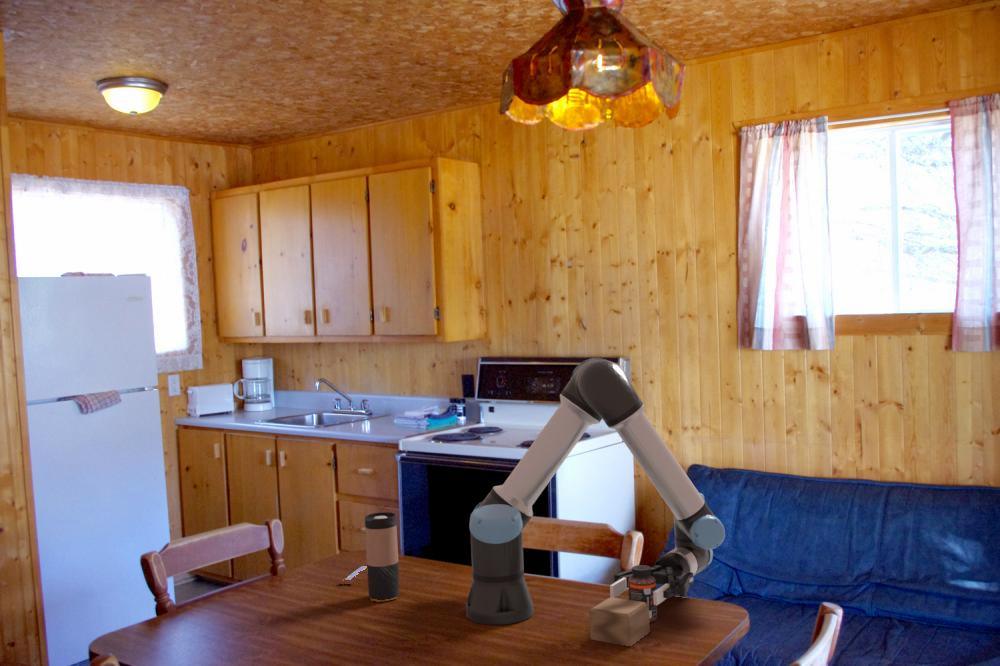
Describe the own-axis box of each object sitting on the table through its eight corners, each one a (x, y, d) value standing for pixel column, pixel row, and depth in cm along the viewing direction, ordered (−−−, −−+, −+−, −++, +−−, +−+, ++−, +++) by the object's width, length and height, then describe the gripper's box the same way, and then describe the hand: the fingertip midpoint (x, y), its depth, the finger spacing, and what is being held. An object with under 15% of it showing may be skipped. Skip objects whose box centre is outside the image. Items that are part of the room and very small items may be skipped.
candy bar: (352, 588, 223) (351, 580, 223) (337, 587, 224) (336, 580, 224) (378, 569, 239) (377, 562, 239) (363, 569, 240) (363, 562, 240)
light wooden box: (590, 639, 178) (589, 608, 178) (610, 625, 186) (609, 595, 186) (630, 646, 173) (629, 615, 173) (649, 632, 181) (648, 602, 181)
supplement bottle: (657, 624, 185) (654, 571, 185) (628, 624, 186) (626, 571, 186) (657, 615, 191) (655, 563, 191) (630, 614, 192) (628, 563, 192)
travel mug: (401, 592, 216) (397, 511, 216) (398, 601, 208) (394, 518, 208) (370, 593, 216) (366, 513, 215) (366, 603, 208) (362, 520, 208)
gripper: (721, 590, 197) (683, 621, 179) (632, 578, 210) (587, 605, 191) (720, 557, 197) (681, 584, 179) (631, 546, 209) (586, 571, 191)
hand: (633, 595), depth 185 cm, fingers open, 9 cm apart
